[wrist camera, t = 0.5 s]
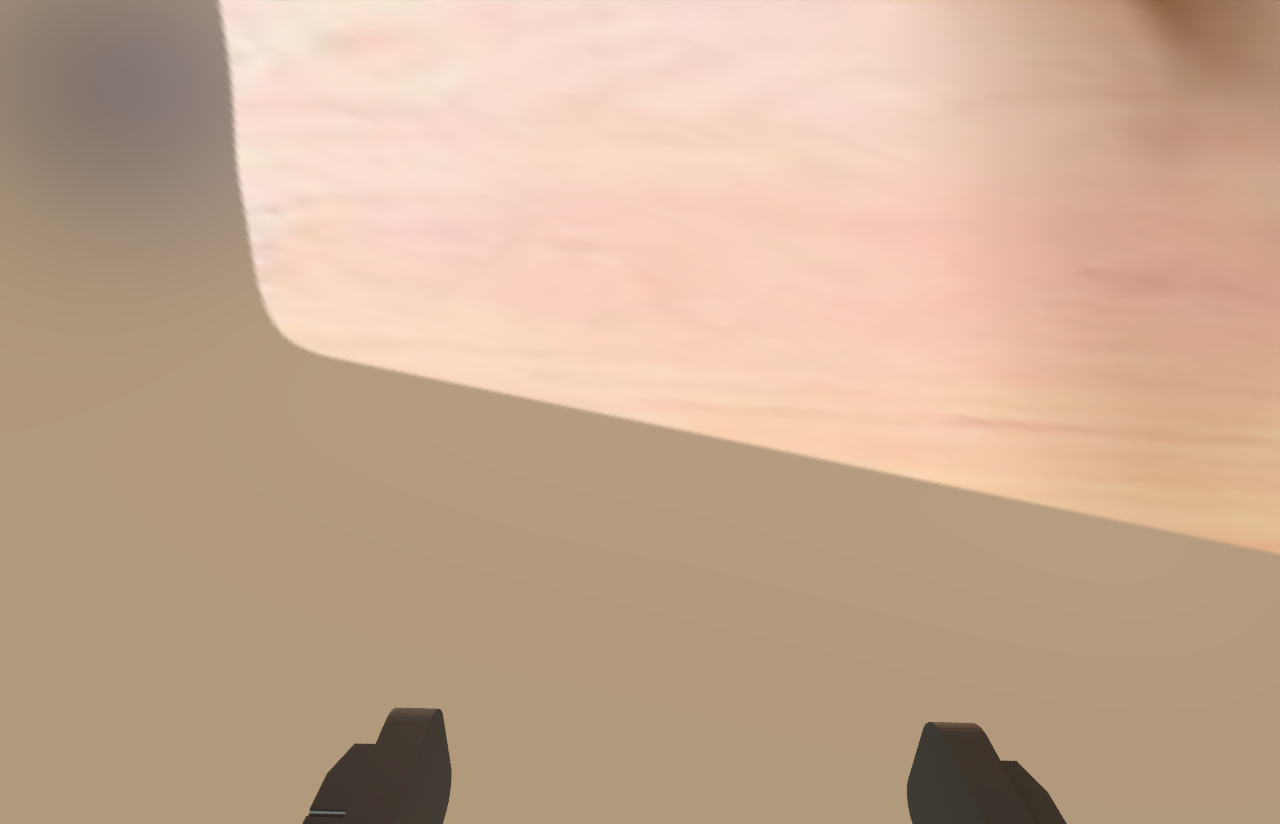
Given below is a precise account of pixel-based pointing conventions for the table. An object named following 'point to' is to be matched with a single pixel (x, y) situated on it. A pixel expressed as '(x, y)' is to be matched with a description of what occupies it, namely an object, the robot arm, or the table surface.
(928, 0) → the table surface
